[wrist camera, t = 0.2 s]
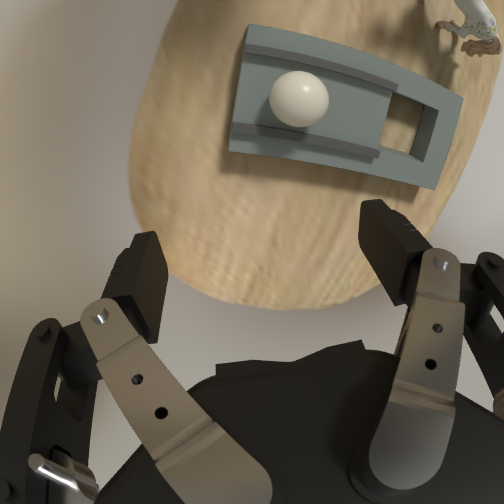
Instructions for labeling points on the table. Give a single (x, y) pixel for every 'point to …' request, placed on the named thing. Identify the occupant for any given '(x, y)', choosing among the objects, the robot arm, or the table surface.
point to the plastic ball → (299, 99)
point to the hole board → (339, 108)
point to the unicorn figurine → (476, 28)
